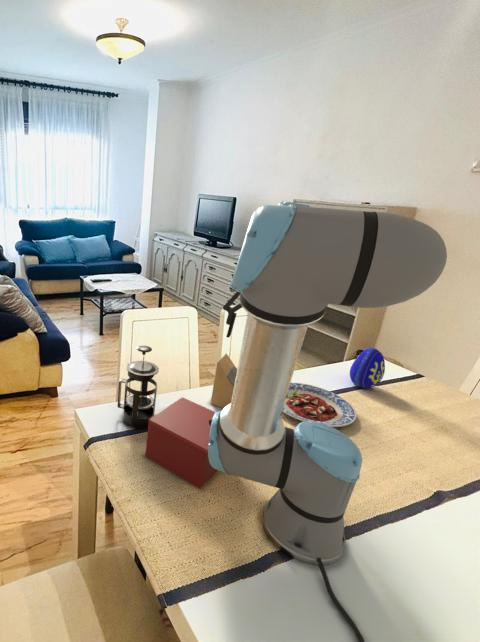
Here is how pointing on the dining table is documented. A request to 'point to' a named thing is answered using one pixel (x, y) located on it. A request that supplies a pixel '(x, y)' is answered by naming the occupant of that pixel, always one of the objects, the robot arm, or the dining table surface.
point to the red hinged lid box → (178, 456)
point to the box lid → (186, 422)
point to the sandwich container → (224, 382)
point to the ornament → (368, 368)
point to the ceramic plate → (317, 406)
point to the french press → (139, 392)
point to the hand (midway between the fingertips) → (253, 343)
